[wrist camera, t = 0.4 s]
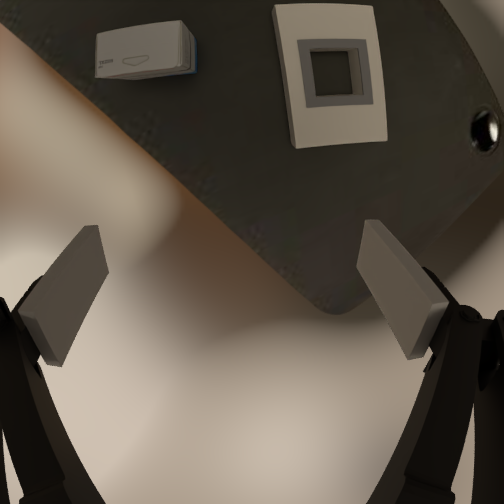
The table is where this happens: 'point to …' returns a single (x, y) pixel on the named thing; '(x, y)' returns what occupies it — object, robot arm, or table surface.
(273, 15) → the port
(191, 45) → the ink box
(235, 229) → the table surface
